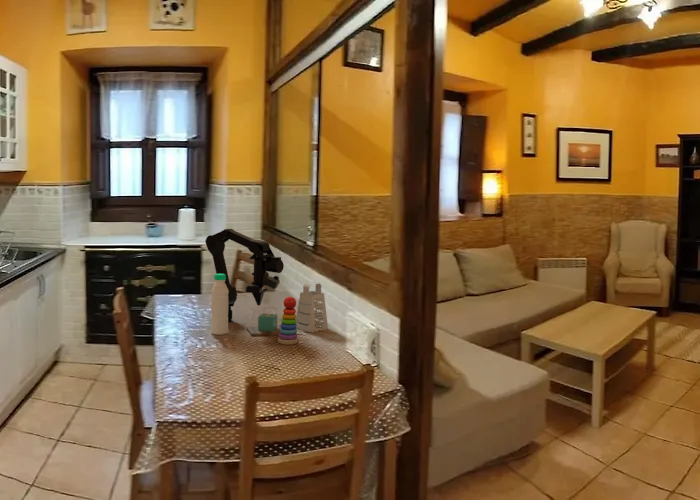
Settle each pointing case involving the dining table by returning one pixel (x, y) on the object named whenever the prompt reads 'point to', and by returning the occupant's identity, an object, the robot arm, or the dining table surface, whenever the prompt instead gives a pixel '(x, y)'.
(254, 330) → the keyed post base
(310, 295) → the grater
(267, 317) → the teal drawer cube
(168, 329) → the dining table surface
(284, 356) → the dining table surface
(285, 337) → the stacking toy
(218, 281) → the water bottle
